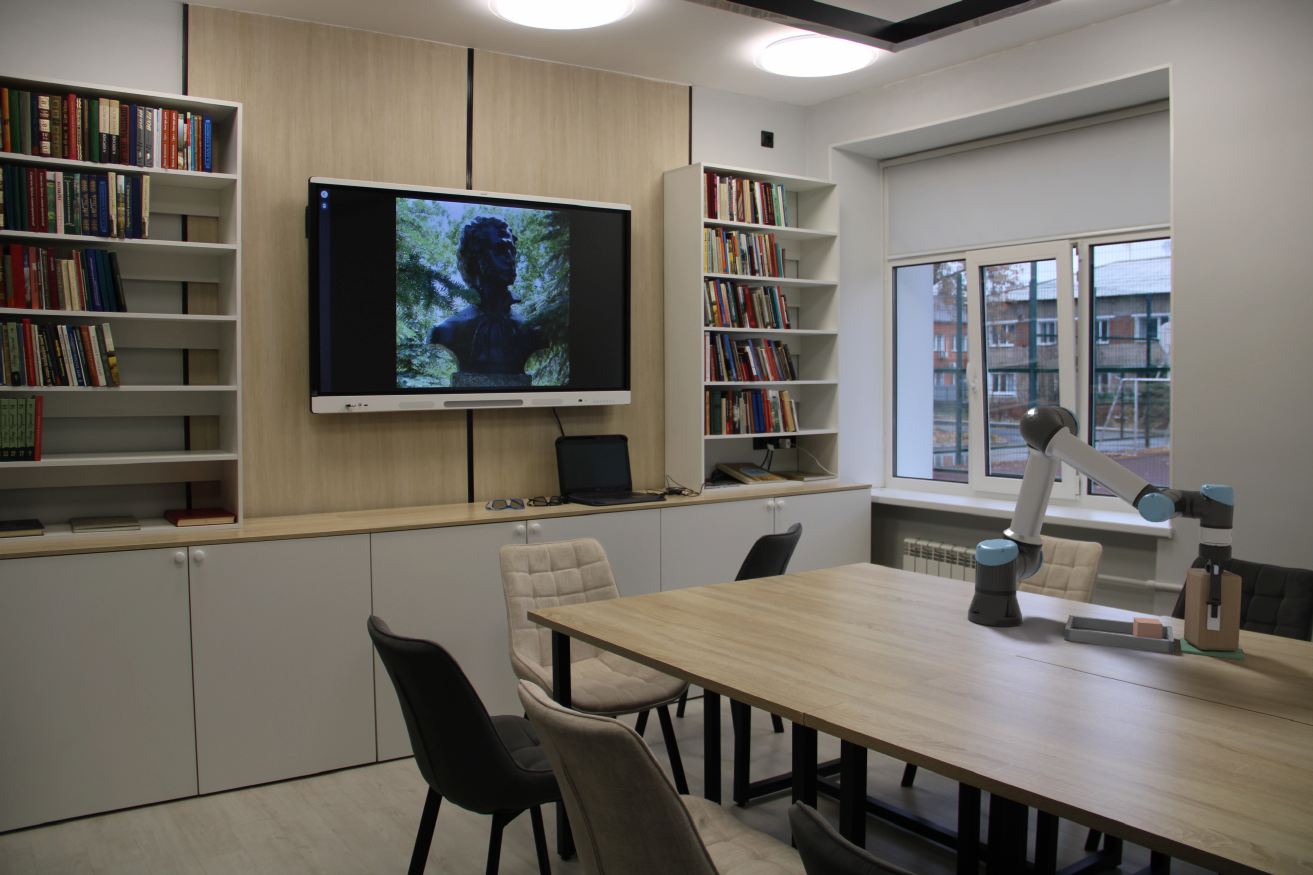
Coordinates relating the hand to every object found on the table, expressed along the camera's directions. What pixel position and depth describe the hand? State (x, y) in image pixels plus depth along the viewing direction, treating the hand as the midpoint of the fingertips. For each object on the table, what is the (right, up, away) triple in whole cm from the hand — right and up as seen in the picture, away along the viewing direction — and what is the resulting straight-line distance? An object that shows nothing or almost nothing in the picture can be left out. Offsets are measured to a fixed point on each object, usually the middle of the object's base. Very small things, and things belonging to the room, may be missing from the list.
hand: (1211, 624), depth 248 cm
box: (-13, -6, +7) cm, 16 cm away
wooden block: (0, -6, 0) cm, 6 cm away
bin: (-20, -6, +10) cm, 23 cm away
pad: (0, -7, 0) cm, 7 cm away
